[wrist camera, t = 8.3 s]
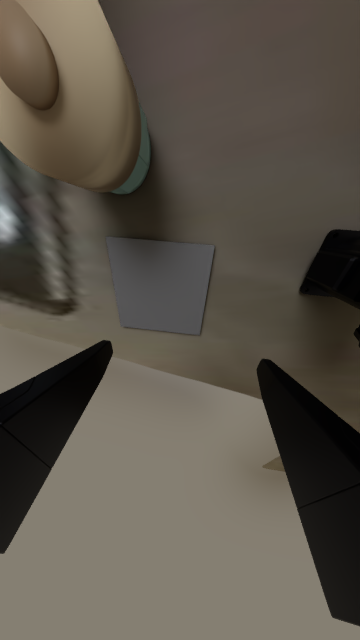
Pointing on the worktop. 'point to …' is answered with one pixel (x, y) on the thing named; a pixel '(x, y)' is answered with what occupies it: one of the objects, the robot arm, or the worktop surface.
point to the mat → (160, 283)
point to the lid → (67, 93)
